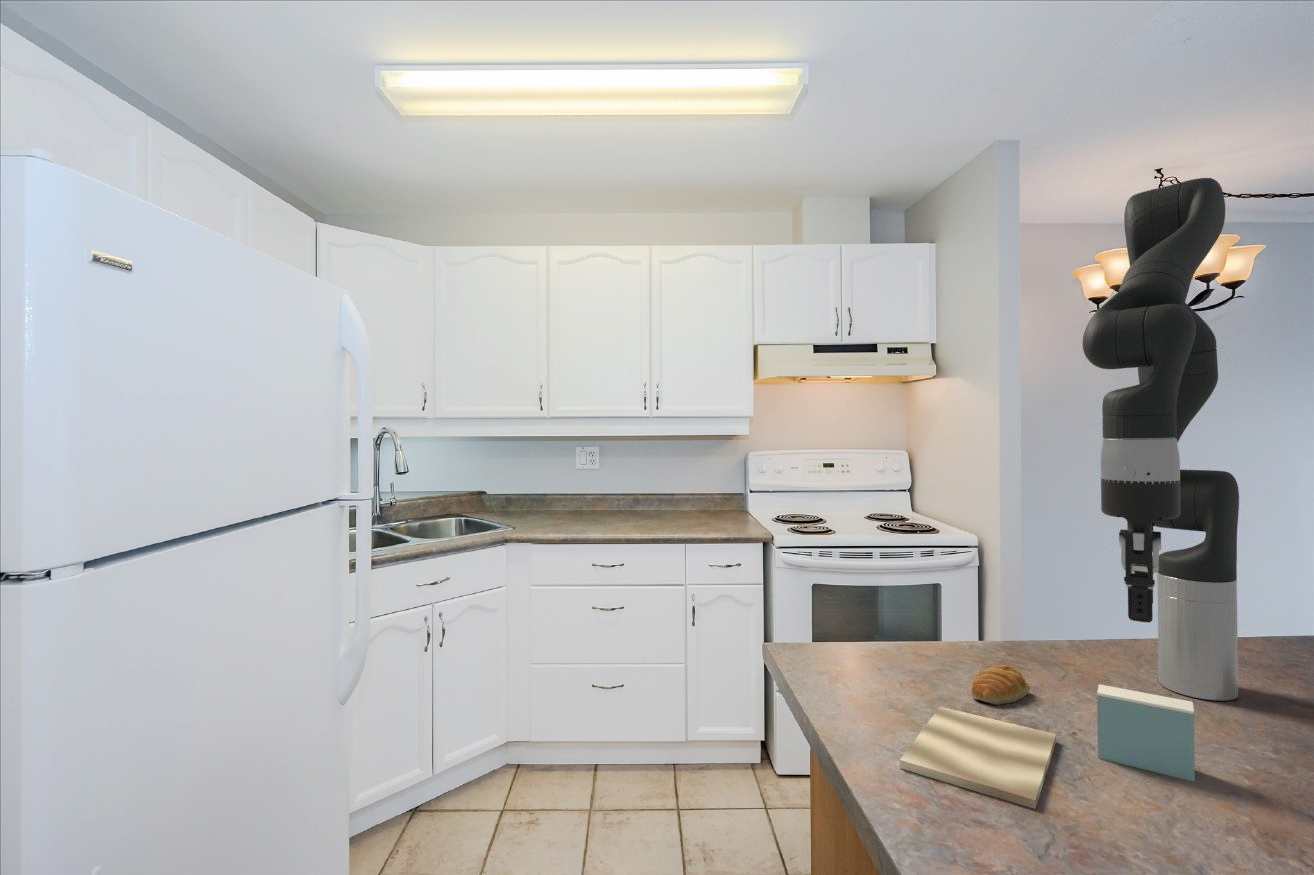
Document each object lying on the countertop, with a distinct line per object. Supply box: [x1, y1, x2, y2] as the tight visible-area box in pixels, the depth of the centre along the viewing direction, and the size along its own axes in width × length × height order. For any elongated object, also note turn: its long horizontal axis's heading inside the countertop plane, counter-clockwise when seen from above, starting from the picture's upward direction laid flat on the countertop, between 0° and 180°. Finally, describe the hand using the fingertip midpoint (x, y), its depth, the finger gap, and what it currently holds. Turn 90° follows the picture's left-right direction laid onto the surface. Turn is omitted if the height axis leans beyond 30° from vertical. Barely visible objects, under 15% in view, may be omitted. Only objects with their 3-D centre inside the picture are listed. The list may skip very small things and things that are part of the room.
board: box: [899, 706, 1057, 810], centre depth 79 cm, size 18×14×1 cm
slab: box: [1096, 684, 1196, 783], centre depth 76 cm, size 3×9×8 cm, turn 52°
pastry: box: [970, 664, 1031, 706], centre depth 96 cm, size 9×7×4 cm
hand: (1141, 612), depth 76 cm, fingers open, 8 cm apart
